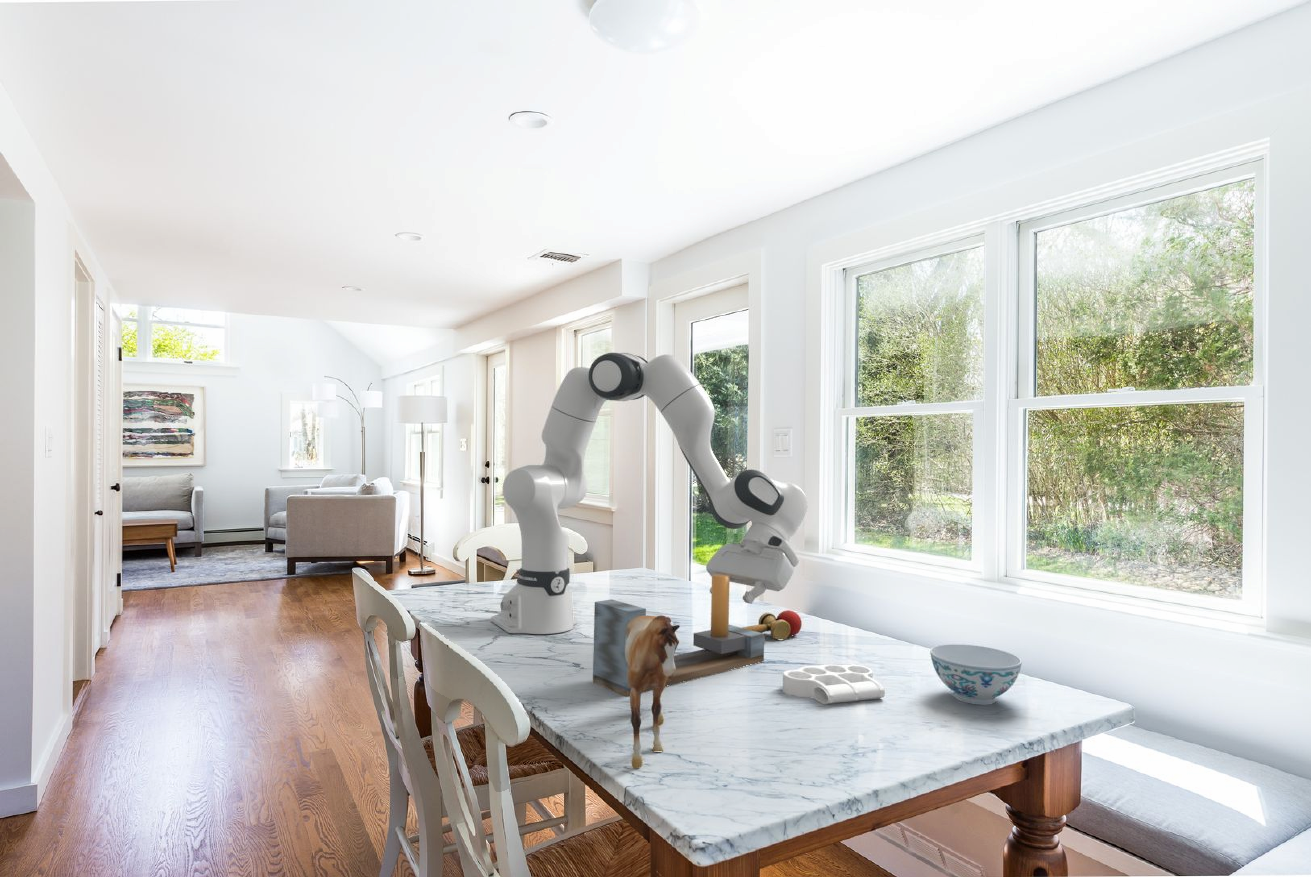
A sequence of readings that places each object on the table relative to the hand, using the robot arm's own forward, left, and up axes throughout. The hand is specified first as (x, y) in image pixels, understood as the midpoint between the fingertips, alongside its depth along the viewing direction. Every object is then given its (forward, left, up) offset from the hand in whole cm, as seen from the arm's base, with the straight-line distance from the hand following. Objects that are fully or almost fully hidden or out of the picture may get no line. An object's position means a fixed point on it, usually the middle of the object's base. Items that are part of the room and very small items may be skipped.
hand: (729, 597), depth 154 cm
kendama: (-8, +21, -13) cm, 26 cm away
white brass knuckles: (+25, +1, -14) cm, 28 cm away
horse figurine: (+23, -37, -13) cm, 46 cm away
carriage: (0, -3, -10) cm, 10 cm away
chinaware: (+43, +18, -13) cm, 49 cm away
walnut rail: (0, -13, -13) cm, 18 cm away
